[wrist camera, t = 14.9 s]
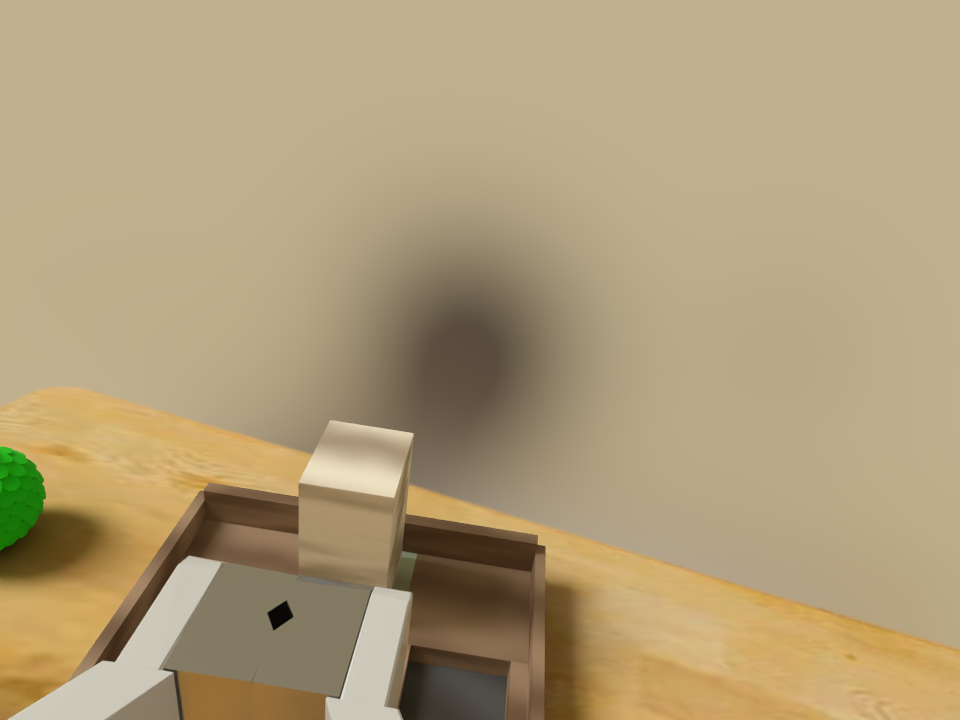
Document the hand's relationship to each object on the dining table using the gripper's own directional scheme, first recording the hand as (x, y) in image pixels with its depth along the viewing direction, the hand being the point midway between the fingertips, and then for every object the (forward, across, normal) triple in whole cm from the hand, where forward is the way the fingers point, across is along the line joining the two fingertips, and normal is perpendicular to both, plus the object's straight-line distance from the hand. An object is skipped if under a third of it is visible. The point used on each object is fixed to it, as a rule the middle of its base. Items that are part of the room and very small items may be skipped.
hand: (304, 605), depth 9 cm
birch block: (+30, +6, +33) cm, 45 cm away
